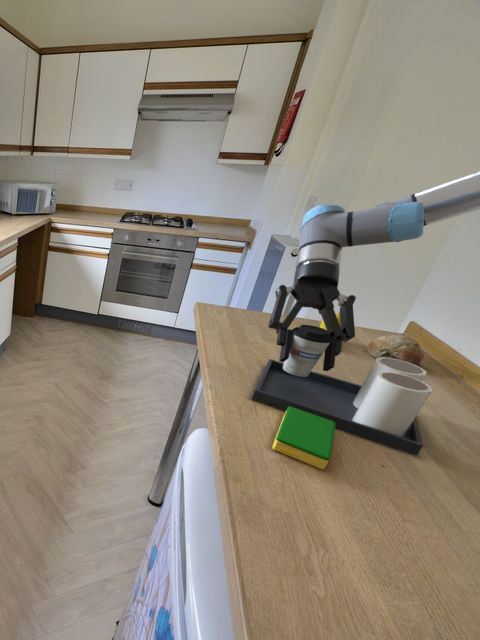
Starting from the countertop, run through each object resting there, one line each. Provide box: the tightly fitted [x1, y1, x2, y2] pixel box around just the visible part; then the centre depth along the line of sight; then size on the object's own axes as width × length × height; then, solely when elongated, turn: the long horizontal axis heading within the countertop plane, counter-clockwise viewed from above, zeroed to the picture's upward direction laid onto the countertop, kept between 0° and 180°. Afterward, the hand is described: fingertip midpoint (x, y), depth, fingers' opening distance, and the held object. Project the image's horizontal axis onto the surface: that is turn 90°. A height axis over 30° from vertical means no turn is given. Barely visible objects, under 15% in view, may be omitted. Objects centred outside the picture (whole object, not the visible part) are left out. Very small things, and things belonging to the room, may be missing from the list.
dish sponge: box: [271, 407, 336, 470], centre depth 71 cm, size 7×14×2 cm, turn 137°
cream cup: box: [353, 357, 428, 408], centre depth 79 cm, size 7×7×10 cm
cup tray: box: [251, 358, 424, 457], centre depth 83 cm, size 24×19×2 cm
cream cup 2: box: [352, 371, 433, 437], centre depth 73 cm, size 7×7×10 cm
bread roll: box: [366, 334, 425, 366], centre depth 104 cm, size 10×10×8 cm
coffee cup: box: [283, 324, 333, 377], centre depth 87 cm, size 7×7×10 cm
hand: (305, 364), depth 84 cm, fingers closed on coffee cup, 7 cm apart
